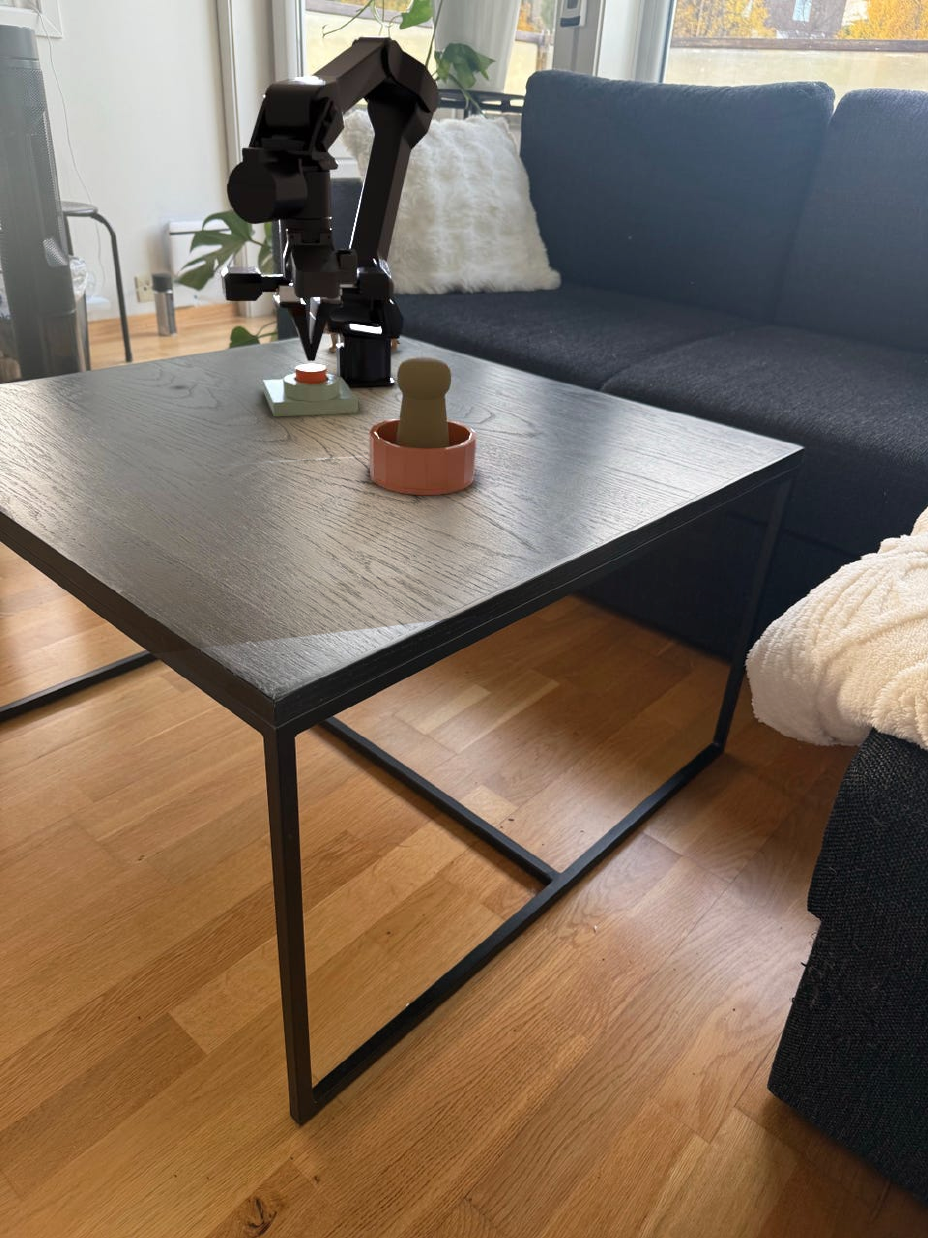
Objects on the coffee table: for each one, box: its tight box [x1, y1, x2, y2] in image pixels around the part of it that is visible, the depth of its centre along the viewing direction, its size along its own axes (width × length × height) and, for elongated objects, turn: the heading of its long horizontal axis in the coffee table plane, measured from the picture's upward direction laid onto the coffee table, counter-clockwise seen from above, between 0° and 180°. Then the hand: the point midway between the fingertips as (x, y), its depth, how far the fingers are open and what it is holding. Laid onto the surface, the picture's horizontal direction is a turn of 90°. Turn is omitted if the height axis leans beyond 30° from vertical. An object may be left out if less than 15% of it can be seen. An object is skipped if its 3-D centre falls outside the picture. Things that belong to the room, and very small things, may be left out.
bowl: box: [368, 417, 477, 496], centre depth 88 cm, size 10×10×4 cm
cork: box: [396, 356, 452, 449], centre depth 87 cm, size 6×6×11 cm
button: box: [295, 363, 327, 384], centre depth 106 cm, size 4×4×2 cm
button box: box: [262, 372, 359, 417], centre depth 109 cm, size 10×10×4 cm
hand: (310, 360), depth 105 cm, fingers closed
